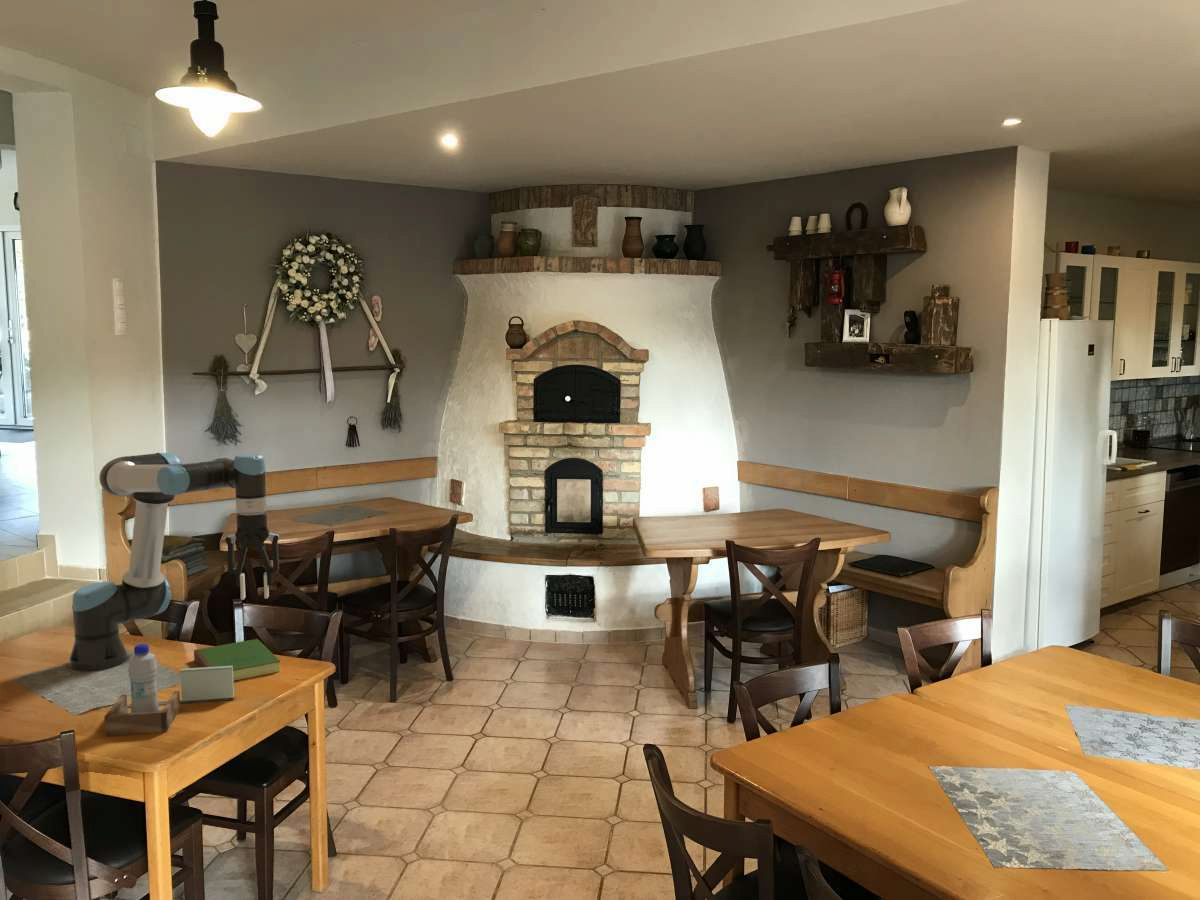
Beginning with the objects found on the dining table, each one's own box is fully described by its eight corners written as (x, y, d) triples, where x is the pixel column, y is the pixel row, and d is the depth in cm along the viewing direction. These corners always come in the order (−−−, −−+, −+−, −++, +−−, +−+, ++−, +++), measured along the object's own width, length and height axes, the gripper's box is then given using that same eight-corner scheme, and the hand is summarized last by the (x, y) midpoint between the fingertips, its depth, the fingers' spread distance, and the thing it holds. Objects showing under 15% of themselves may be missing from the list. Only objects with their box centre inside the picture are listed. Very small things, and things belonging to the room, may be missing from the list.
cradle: (129, 704, 250) (127, 686, 249) (235, 697, 255) (234, 679, 254) (105, 736, 230) (104, 716, 229) (221, 727, 235) (220, 708, 235)
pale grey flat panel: (182, 699, 252) (181, 668, 251) (234, 696, 254) (232, 665, 253) (181, 701, 251) (180, 670, 250) (233, 697, 253) (231, 667, 252)
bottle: (148, 726, 236) (144, 649, 233) (124, 724, 237) (120, 647, 235) (165, 716, 242) (162, 641, 240) (142, 713, 244) (138, 639, 241)
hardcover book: (194, 662, 284) (193, 650, 283) (258, 650, 294) (257, 638, 294) (213, 687, 263) (213, 674, 263) (281, 674, 274) (281, 661, 273)
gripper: (212, 516, 243) (216, 603, 246) (285, 514, 247) (289, 599, 250) (217, 511, 251) (221, 595, 254) (289, 508, 254) (292, 592, 257)
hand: (255, 597), depth 252 cm, fingers open, 5 cm apart
